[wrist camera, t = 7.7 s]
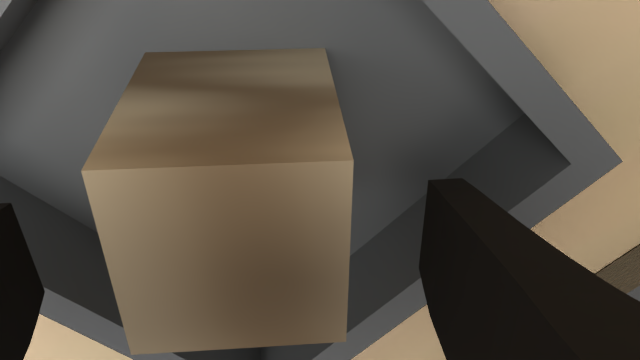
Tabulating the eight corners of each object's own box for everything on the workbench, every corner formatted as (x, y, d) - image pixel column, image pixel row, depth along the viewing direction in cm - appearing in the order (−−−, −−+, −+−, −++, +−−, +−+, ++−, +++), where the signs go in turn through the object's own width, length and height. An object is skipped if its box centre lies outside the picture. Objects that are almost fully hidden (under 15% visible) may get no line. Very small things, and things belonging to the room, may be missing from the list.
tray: (264, 340, 18) (263, 423, 16) (-100, 132, 13) (-186, 203, 11) (560, 102, 14) (622, 161, 12) (199, -320, 9) (175, -374, 7)
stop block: (171, 200, 14) (131, 354, 10) (144, 52, 12) (81, 170, 8) (323, 194, 15) (346, 341, 10) (324, 48, 12) (353, 160, 8)
